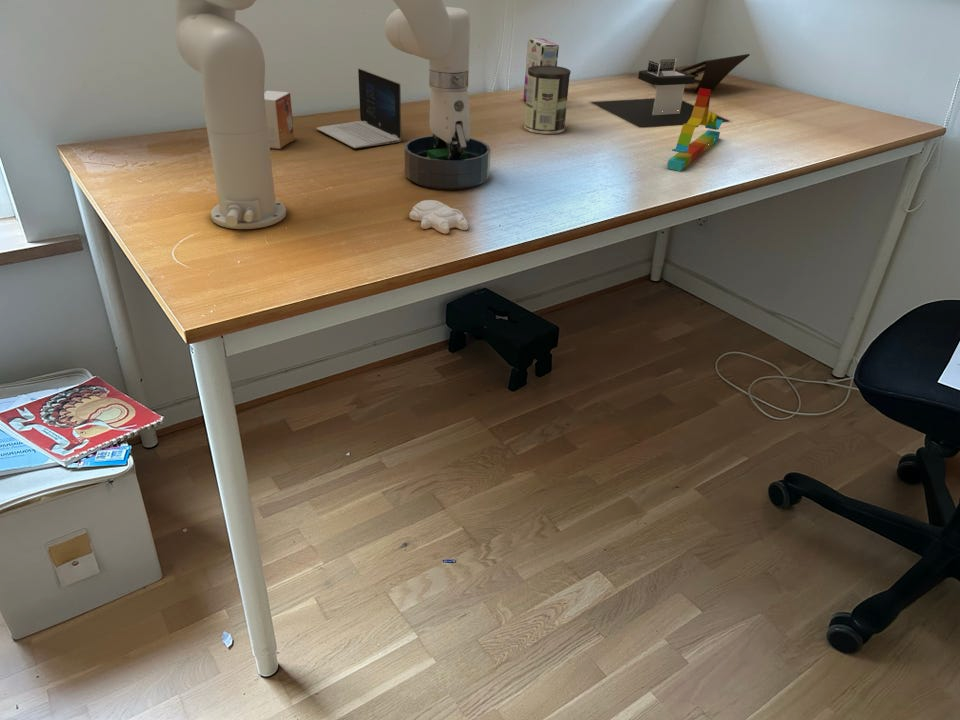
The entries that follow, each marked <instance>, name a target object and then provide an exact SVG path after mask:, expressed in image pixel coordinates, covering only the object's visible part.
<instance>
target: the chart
mask: <svg viewBox="0 0 960 720" xmlns="http://www.w3.org/2000/svg"><path fill="white" fill-rule="evenodd" d="M711 93H712V89H704V88H699V92H697V95H696V99H695V102H694V108H693V112H692V115H691V118H690V119H689V121H688V122H687V123H686V124H682V128H681V130H680V134H679V136H678V140H677V143H676V146H675V148H671V151H672V152H676V154H675V155H673V156H672V157H671V158H669V159H668V161H667V164H666V165H667V167H666V168H667V169H669V170H673V171H678V172H681V171H682V170H683V169H685V168H686V167H687V166H688V165H690V164H691V163H693V161H695V159H697V158H698V157H700V156H701V155H702V154H703V153H705V152H706V151H708V149H709V148H711V147H712V146H713V145H714V144H715V143H717V142H718V141H719V138H720V134H721V132H720V131H718V130H720V128H721V125H722V124H723V122H724V121H723V120H718V119H717V116H718V114H717V113H713V112H711V111H709V109H710V102H711ZM699 126H704V127H705V129H708V130H706V131H705V132H704V133H702V134H701V135H700V136H699V137H697V138H696V139H694V140H692V138H693V135H694V131H695V128H699ZM714 139H715V140H714ZM691 141H692V142H691ZM708 144H709V145H708Z"/></svg>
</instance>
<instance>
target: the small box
mask: <svg viewBox="0 0 960 720" xmlns="http://www.w3.org/2000/svg"><path fill="white" fill-rule="evenodd" d="M264 99H265V112H266V121H267V129H268V137H269V146H270V149H278V150H280V149H281V150H282V148H284V147H285V146H287V145H288V144H290V143H292V142H293V141H295V131H294V121H293V110H292V109H293V108H292V100H291V99H292V98H291V93H290V92H288V91H279V90H278V91H277V90H266V91H264Z"/></svg>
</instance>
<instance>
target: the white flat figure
mask: <svg viewBox="0 0 960 720" xmlns="http://www.w3.org/2000/svg"><path fill="white" fill-rule="evenodd" d="M408 216H409V219H410V220H412V221H419V222H420V227H421V229H422V230H426V229H430V228H432V229H434V230H435V231H437V232H439V233H441V234H444V235H446V234H448V233H449V232H450V229H453V228H456V229H459V230H461V231H467V230H468V228H469V222H468V220H467V218H466V216H464V212H462V211H461V210H460V209H457V208H452V207H450V206H449V205H447V204H445V203H443V202H441V201H439V200H436V199H425V200H422V201H419V202H417V203H416V204H415V205H413V207H412V209H411V211H410V212H409V215H408Z"/></svg>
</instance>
